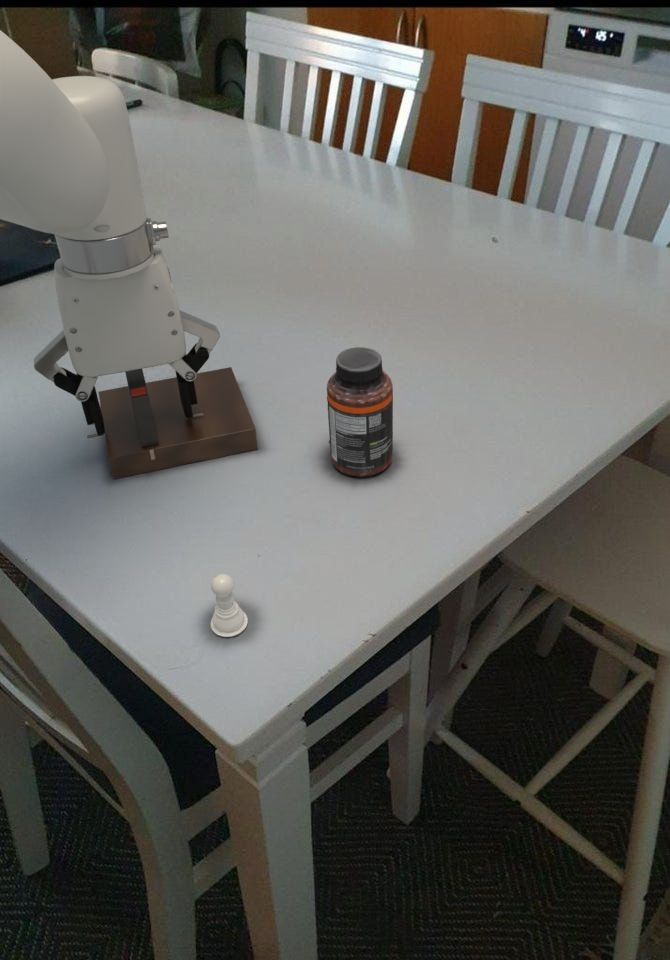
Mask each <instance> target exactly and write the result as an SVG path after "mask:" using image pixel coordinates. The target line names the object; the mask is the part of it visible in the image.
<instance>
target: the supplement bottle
mask: <svg viewBox="0 0 670 960" xmlns="http://www.w3.org/2000/svg"><path fill="white" fill-rule="evenodd" d="M335 366H336V367H335V372H334V373H333V374H332V375H331V376H330V377H329V379H328V381H327V384H326V401H327V418H328V419H327V420H328V434H329V435H328V436H329V440H328V444H329V453H330V459H331V463H332V465H333V466H334V467H335V468H336V469H337V470H338V471H339V472H341V473H342V474H345V475H348V476H353V477H359V478H364V477H370V476H374V475H377V474H379V473H381V472H383V471H384V470H386V469H387V468H388V467H389V466H390V464H391V462H392V460H393V450H394V432H393V431H394V387H393V386H394V385H393V382H392V378H391V377H390V376H389V374H388V373H387V372H386V371H384V370H383V357H382V356H381V353H379V352H378V351H376V349H372V348H370V347H364V346H363V347H362V346H361V347H360V346H359V347H358V346H356V347H355V346H354V347H350V348H347V349H344V350H343V351H341V352H339V353H338V355H337V356H336V359H335Z"/></svg>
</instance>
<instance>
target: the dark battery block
mask: <svg viewBox="0 0 670 960" xmlns="http://www.w3.org/2000/svg"><path fill="white" fill-rule="evenodd" d="M124 373H125V378H126V383H127V386H128V388H129V393H130V398H131V402H132V407H133V411H134V415H135V420H136V424H137V428H138V433H139V437H140V441H141V445H142V448H143V447H148V446H153V445H158V444H159V441H158V437H157V432H156V428H155V423H154V418H153V414H152V409H151V404H150V400H149V395H148V391H147V387H146V383H147V382H146V377H145V373H144V370H143V369H138V370H132V371H127V372H124Z"/></svg>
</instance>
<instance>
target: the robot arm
mask: <svg viewBox="0 0 670 960" xmlns="http://www.w3.org/2000/svg"><path fill="white" fill-rule="evenodd" d="M132 134H133V132H132V127H131V123H130V117H129V111H128V107H127V103H126V100H125V97H124V93H123V92H122V90H121V89H120V88H119V86H118V85H117V84H116V83H115V82H113V81H112V80H110V79H107V78H104V77H99V76H91V75H73V76H64V77H57V78H51V77H50V76H49V74H48V73H47V72H46V71H45V70H44V69H43V68H42V67H41V66H40V65H39V64H38V62H36V61H35V60H34V59H33V58H32V57H31V56H30V55H29V54H28V53H27V52H26V51H25V50H24V49H23V48H22V47H21V46H19V44H17V42H15V41H14V40H13V39H12V38H10V37H9V35H7V34H6V33H4V32H3V31H2V30H1V29H0V220H1V221H5V222H8V223H12V224H14V225H18V226H22V227H25V228H28V229H31V230H34V231H38V232H40V233H41V232H42V233H45V234H52V235H54V238H55V242H56V245H57V250H58V253H59V257H60V258H58V259H56V260H55V262H54V263H53V264H54V265H53V271H54V285H55V292H56V298H57V303H58V309H59V315H60V319H61V324H62V328H63V330H61V331H60V333H58V334H57V335H56V336H55V338H53V339H52V340H50V342H49V343H48V344H47V345H46V346H45V347H44V348H43V349H42V350H41V351H40V352H38V354H36V355H35V356H34V358H33V369H34V370H35V371H36V372H38V373H39V374H40V375H42V376H43V377H44V378H46V379H47V380H48V381H51V382H52V383H53V384H54V386H56V388H59V389H61V390H63V391H64V392H67V393H68V394H70V395H72V396H74V397H75V400H77V401H78V402H80V403H81V408H82V410H83V414H84V418H85V421H86V424H87V426H90V425H94V427H95V431H96V434H97V435H98V436H99V437H102V436H104V435H105V434H104V433H105V428H104V421H103V416H102V412H101V406H100V399H99V396H98V393H97V390H96V386H95V385H96V382H97V380H98V378H99V377H103V376H110V375H114V374H121V373H125V372H127V371H132V370H138V369H142V370H143V369H149V368H154V367H159V366H163V365H169V366H170V367H171V369H173V370H174V371H175V376H176V377H177V382H178V388H179V393H180V398H181V403H182V407H183V410H184V414H185V417H188V418H192V417H193V413H192V407H191V405H194V404H198V402H197V396H196V390H195V384H194V380H195V379H196V377H197V375H196V373H199V371H200V370H201V369H202V368H203V366H204V365H205V364H206V363H207V361H208V360H209V358H210V355H211V352H212V351H213V350H214V348H215V347H216V345H217V343H218V341H219V340H220V337H221V333H220V331H219V328H218V327H217V326H216V325H214V324H213V323H210V322H208V321H205V320H204V319H201V318H199V317H197V316H194V315H192V314H189V313H187V312H185V311H183V310H180V307H179V302H178V299H177V295H176V290H175V286H174V283H173V280H172V276H171V272H170V268H169V266H168V263H167V260H166V258H165V255H164V253H163V251H162V248H161V247H160V246H159V245H158V244H157V242H159V241H160V242H161V240H162V239H169V231H168V225H167V222H166V221H159V222H157V220H154V221H152V218H151V217H148V215H147V213H148V212H147V208H146V203H145V197H144V193H143V187H142V182H141V176H140V171H139V165H138V161H137V155H136V150H135V144H134V138H133V135H132ZM185 332H186V333H189V334H191V335H192V336H196V337H198V341H197V342H196V343H195V344H194V345H193V346H192V348H191V349H190V350H189V351H188V353H187V346H186V345H187V343H186V342H187V341H186V335H185ZM67 353H68V354H69V357H70V361H71V364H72V367H73V369H74V372H75V373H74V372H72V371H70V370H68V369H67V368H64V367H62V366H60V365H59V364H58V363H57V362H58V361H59V360H60V359H62V358H63V356H65V355H66V354H67ZM101 435H102V436H101Z"/></svg>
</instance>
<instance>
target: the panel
mask: <svg viewBox="0 0 670 960" xmlns="http://www.w3.org/2000/svg"><path fill="white" fill-rule="evenodd" d="M196 375H197V377H196V379H195V380H194V384H195V390H196V396H197V402H198V404H194V405H191V407H192V413H193V417H192V418H188V417H185V414H184V410H183V407H182V403H181V398H180V393H179V388H178V382H177V377H170V378H164V379H159V380H154V381H148V382H146V387H147V391H148V395H149V400H150V404H151V409H152V414H153V418H154V423H155V428H156V432H157V437H158V441H159V444H158V445H153V446H148V447H143V448H142V445H141V441H140V437H139V433H138V428H137V424H136V420H135V415H134V411H133V407H132V402H131V398H130V393H129V388H128V385H127V386H126V385H125V386H120V387H115V388H110V389H105V390H99V391H98V400H99V404H100V408H101V412H102V416H103V421H104V428H105V433H104V434H103V435H104V441H105V447H106V454H107V455H106V456H107V460H108V464H109V468H110V472H111V475H112V479H113V480H117V479H121V478H125V477H131V476H135V475H140V474H144V473H149V472H154V471H159V470H165V469H169V468H173V467H174V468H175V467H178V466H183V465H188V464H193V463H197V462H203V461H207V460H213V459H216V458H222V457H226V456H233V455H237V454H241V453H245V452H251V451H256V450H258V449H259V446H258V438H257V429H256V426H255V424H254V420H253V418H252V416H251V414H250V411H249V409H248V406H247V403H246V401H245V398H244V396H243V394H242V390H241V388H240V385H239V383H238V381H237V378H236V376H235V373H234V370H233V368H232V366H229V367H224V368H219V369H213V370H208V371H203V372H197V373H196ZM103 435H101V436H98V435H97V433H92V434H87V435H86V438H87V439H88V440H89V439H93V438H98V437H99V438H100V437H102V436H103Z"/></svg>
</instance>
